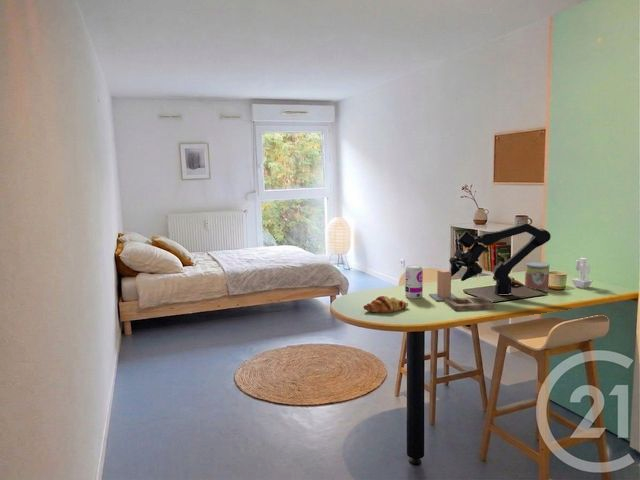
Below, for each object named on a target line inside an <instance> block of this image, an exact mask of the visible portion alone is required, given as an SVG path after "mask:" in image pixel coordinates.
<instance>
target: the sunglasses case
mask: <svg viewBox="0 0 640 480" xmlns="http://www.w3.org/2000/svg"><path fill="white" fill-rule="evenodd" d="M509 277H510V278H511V287H512V286H515V285H524V283H522V282H521V281H518V280H517V279H515V277H512V276H509ZM492 280H495V281H499V280H498V279H496V278H495V276H494V275H493V276H492Z"/></svg>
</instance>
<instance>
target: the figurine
mask: <svg viewBox="0 0 640 480" xmlns="http://www.w3.org/2000/svg"><path fill="white" fill-rule="evenodd" d="M587 259H588V258H586V257H579V259H576V260H575V270H576V271H577V272H579V274H578V276H579V277H578V278H577V277H576V278H572V279H571V278H570V279H571V282H572V284H573V285H574V287H576V288H579V289H586V288H590V286H591V285H592V283H593V281H594V280H592V279H588V278H586V275H590V273H591V266H590V263H587V261H588V260H587Z"/></svg>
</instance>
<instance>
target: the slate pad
mask: <svg viewBox="0 0 640 480" xmlns="http://www.w3.org/2000/svg"><path fill="white" fill-rule="evenodd" d="M428 295H429V297H430V298H431V299H432V300H434V301H435V302H445V299H451V298H458V297H457V296H455V294H454V293H452V292H451V297H447V298H442V297H439V296H437V293H429V294H428Z"/></svg>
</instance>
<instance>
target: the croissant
mask: <svg viewBox="0 0 640 480" xmlns="http://www.w3.org/2000/svg"><path fill="white" fill-rule="evenodd" d="M408 307H409V303H408V302H406V301H404V300H402V299H401V300H400V299H397V298H396V297H391V298H390V297H389V296H387V295H381V296H377V297H376V298H375V299H373V300H372V301H371V302H369V303H367V304H366V305H363V309H364V310H365V311H367V312H371V313H375V312H376V313H378V314H386V313H385V312H387V313H394V312H397V311H401V310H402V309H404V310H405V309H407V308H408ZM379 312H381V313H379ZM376 313H375V314H376Z"/></svg>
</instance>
